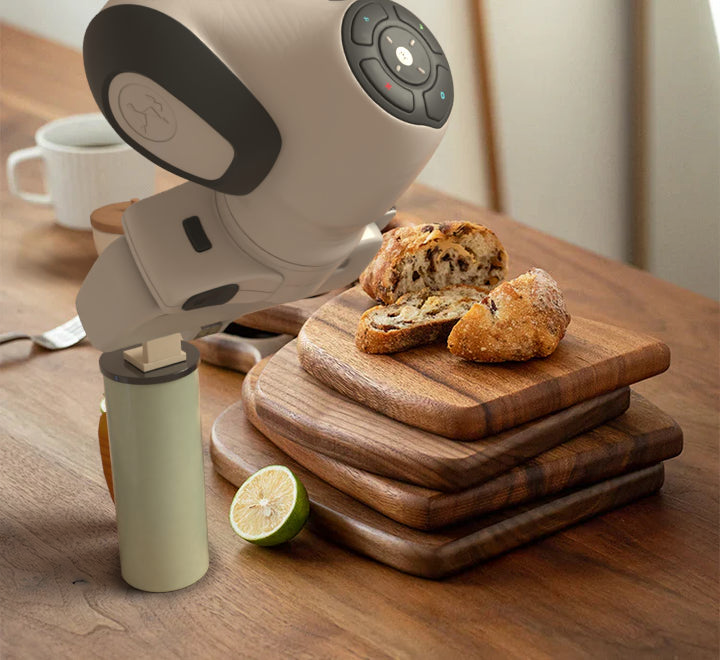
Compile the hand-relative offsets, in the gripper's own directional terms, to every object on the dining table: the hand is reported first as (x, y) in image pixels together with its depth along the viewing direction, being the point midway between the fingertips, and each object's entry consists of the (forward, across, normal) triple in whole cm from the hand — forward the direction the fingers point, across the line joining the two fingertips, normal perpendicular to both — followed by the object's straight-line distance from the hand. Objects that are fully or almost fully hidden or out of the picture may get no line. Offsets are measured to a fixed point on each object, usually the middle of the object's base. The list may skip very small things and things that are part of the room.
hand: (197, 327), depth 75 cm
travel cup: (+22, 0, +12) cm, 25 cm away
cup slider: (+8, 0, -1) cm, 8 cm away
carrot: (+27, -1, +7) cm, 28 cm away
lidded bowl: (+68, -33, -34) cm, 83 cm away
